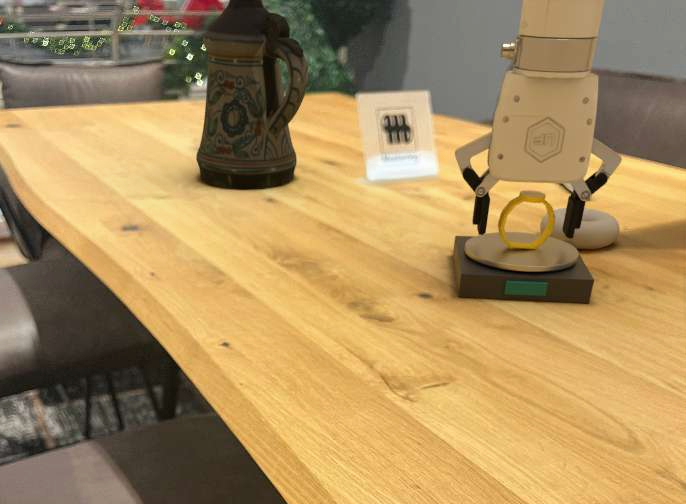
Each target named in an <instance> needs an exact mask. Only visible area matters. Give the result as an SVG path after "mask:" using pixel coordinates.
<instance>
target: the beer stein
mask: <svg viewBox="0 0 686 504" xmlns="http://www.w3.org/2000/svg"><path fill="white" fill-rule="evenodd" d="M290 36H291V28H290V24H289V22H288V20H287V19H286V17H285V16H283V15H281V14H279V13H275V12H270V11H268V9H266V7H265V6H264V3H263V0H229V1H228V4H227V6H226V7H225V8H224V10H223V11H222V12H221V13H220V15H219V16H218V17H217V18H216V19H215V20H214V21H212V23H211V24H209V25H208V27H207V28H206V29H205V31H204V32H203V34H202V41H203V45H204V48H205V50H206V52H207V57H208V61H207V63H208V65H207V77H206V78H207V79H206V93H205V97H206V98H205V107H204V119H203V128H202V132H201V133H202V134H201V140H200V143H199V147H198V150H197V152H196V156H195V159H196V162H197V165H198V169H199V174H200V179H201V181H202V182H203V183H205V184H207V185H209V186H213V187H218V188H223V189H230V190H231V189H232V190H233V189H234V190H261V189H269V188H270V189H271V188H275V187H282V186H285V185H287V184H290V183H291V182H292V181H293V180H294V179H295V171H296V167H297V161H298V160H297V159H298V158H297V153H296V151H295V148H294V146H293V142H292V137H291V132H290V127H289V124H290V123H291V121H292V120H293V119H294V117H295V116H296V115H297V113H298V111H299V109H300V107H301V105H302V103H303V100H304V98H305V96H306V92H307V88H308V81H309V78H308V77H309V65H308V62H307V59H306V56H305V54H304V49H303V47H302V46H301V44H300V43H299V42H298V40H297V39H295V38H294V37H290ZM281 61H283V62H284V64H285V66H286V68H287V75H288V83H287V88H286V89H287V90H286V93H285V90H284V83H283V82H284V81H283V75H282V74H283V73H282V68H281Z"/></svg>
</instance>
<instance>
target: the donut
mask: <svg viewBox="0 0 686 504" xmlns="http://www.w3.org/2000/svg"><path fill="white" fill-rule="evenodd" d="M566 208H567V207H562V208H557V209H553V211H554V215H555V223H554V228H553V231H552V233H551V235H550V236H549V237H552V238H555V239H559V240H570V241H572V242H573V244H574V245H575V247H576V249H577V250H595V249H602V248H604V247H607V246H610V245H611V244H613V243H614V242H615V240H616V239H617V238H618V236H619V235H620V229H621V228H620V224H619V221H618V220H617V219H616V217H614V216H613V215H611V214H609V213H607V212H606V211H605V212H604V211H601V210H597V209H593V208H586V207H584V212H583V217H582V222H581V226H580V229H575V232H574V237H573V239H572V238H567V237H566V236H565V234H564V232H563V230H562V229H563V223H564V218H565V213H566ZM547 221H548V213H546V214H545V215H544V216H543V217H542V219H541V221H540V225H539V226H540V227H539V229H540V233H541V234H542V233H543V232H544V230H545V229H546V227H547Z"/></svg>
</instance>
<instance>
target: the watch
mask: <svg viewBox="0 0 686 504" xmlns="http://www.w3.org/2000/svg"><path fill="white" fill-rule="evenodd" d="M518 194H519V195H518V196H516V197H515V198H512V199H511V200H510V201H508V203H507V204H506V205H505V207H504V208H503V209H502V211H501V212H500V216H499V219H498V222H497V228H498V232H499V235H500V237H501V238H502V240H503V241H504V242H505V243H506V244H507V246H508V247H509V248H518V249H519V248H522V249H534V250H535V249H536V248H538V247H539V246H541V245H542V244H544V242H546V241H547V239H548V238H549V236H550V235H551V233H552V231H553V228H554V223H555V215H554V208H553V206H552V204H550V202H548V200H546V196H547V195H546V193H544V192H542V191H537V190H529V189H528V190H527V189H526V190H520V192H519V193H518ZM522 203H530V204H543V205H544V206H545V209H546V213H547V214H548V221H547V227H546V229H545V230H544V232H543V233H541V234H540V235H541V236H540V237H539V238H538V239H536V240H535V241H533V242H532V243H530V244H528V243H515V242H509V241H508V240H507V239H506V236H505V232H506V229H505V225H506V223H507V218H508V215H510V213H511V212H512V211H513V210H514V209H515V208H516V206H518V205H520V204H522Z"/></svg>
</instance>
